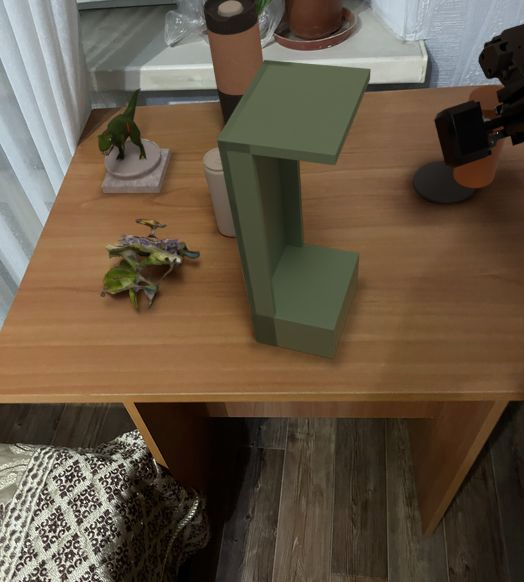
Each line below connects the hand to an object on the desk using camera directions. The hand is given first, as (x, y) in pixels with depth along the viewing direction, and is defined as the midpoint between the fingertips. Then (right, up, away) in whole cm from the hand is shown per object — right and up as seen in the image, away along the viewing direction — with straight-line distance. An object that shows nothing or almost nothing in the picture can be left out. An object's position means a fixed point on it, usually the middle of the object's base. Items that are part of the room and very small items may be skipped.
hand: (478, 133), depth 70 cm
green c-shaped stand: (-20, -23, +1) cm, 31 cm away
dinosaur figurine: (-47, +3, +21) cm, 52 cm away
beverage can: (-31, -9, +11) cm, 34 cm away
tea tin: (+1, -4, +4) cm, 6 cm away
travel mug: (-30, +10, +24) cm, 39 cm away
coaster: (0, -3, +12) cm, 12 cm away
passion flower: (-42, -19, +6) cm, 46 cm away
